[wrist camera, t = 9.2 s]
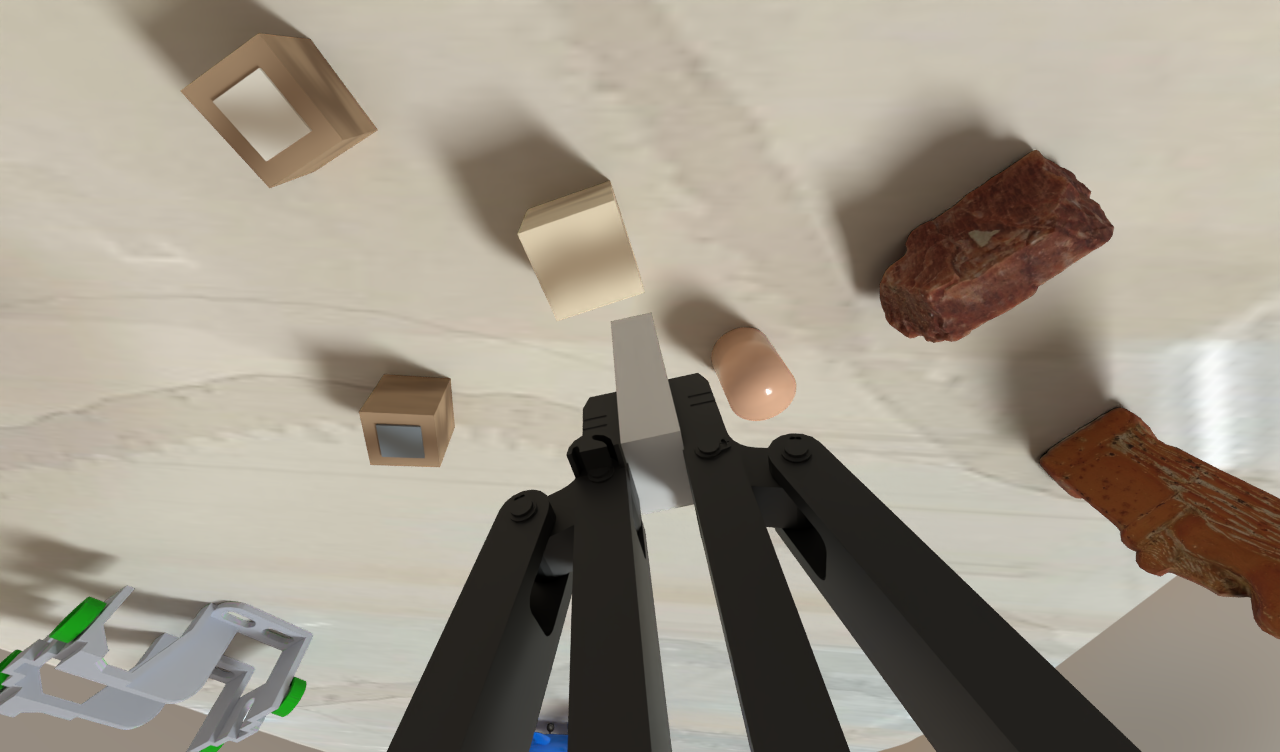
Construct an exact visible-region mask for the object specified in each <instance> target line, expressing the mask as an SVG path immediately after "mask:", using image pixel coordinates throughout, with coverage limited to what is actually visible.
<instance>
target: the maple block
mask: <svg viewBox="0 0 1280 752" xmlns="http://www.w3.org/2000/svg"><path fill="white" fill-rule="evenodd" d="M518 236H519V239H520V241H521V243H522V245H523V247H524V250H525V252H526V254H527V256H528V258H529V260H530V263H531V265H532V267H533V269H534V271H535V274H536V276H537V278H538V280H539V282H540V285H541V287H542V289H543V291H544V293H545V296H546V298H547V300H548V302H549V304H550V307H551V309H552V311H553V313H554V315H555V318H556V320H557V321H560V320H563V319H566V318H569V317H572V316H575V315H578V314H581V313H584V312H587V311H590V310H593V309H596V308H599V307H602V306H605V305H608V304H611V303H614V302H617V301H620V300H623V299H627V298H630V297H633V296H636V295H639V294H642V293H645V292H644V288H643V285H642V281H641V277H640V273H639V270H638V266H637V262H636V259H635V256H634V253H633V250H632V247H631V244H630V241H629V238H628V234H627V231H626V228H625V225H624V222H623V219H622V216H621V213H620V210H619V207H618V204H617V201H616V197H615V194H614V191H613V188H612V185H611V182H610V181H607V182H604V183H601V184H598V185H596V186H593V187H590V188H587V189H584V190H581V191H578V192H576V193H573V194H570V195H567V196H564V197H561V198H559V199H556V200H553V201H550V202H547V203H544V204H541V205H539V206H536V207H533V208H530V209H528V210H527V212H526V215H525V217H524V219H523V222H522V224H521V227H520V229H519V231H518Z"/></svg>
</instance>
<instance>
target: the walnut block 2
mask: <svg viewBox="0 0 1280 752" xmlns="http://www.w3.org/2000/svg"><path fill="white" fill-rule="evenodd" d="M359 414H360V418H361V423H362V428H363V432H364V437H365V442H366V446H367V451H368V455H369V460H370V465H390V466H421V467H440V466H441V463H442V460H443V457H444V455H445V452H446V449H447V447H448V444H449V441H450V439H451V436H452V433H453V430H454V428H455V425H454V413H453V402H452V390H451V379H450V378H436V377H419V376H402V375H386V374H384V375H383V377H382V378H381V380H380V381H379V383H378V384H377V386H376V387H375V389H374V390H373V392H372V393H371V395H370V396H369V398H368V399H367V401H366V402H365V404H364V405H363V407H362V408H361V410H360V411H359Z"/></svg>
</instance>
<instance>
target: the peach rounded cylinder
mask: <svg viewBox="0 0 1280 752" xmlns="http://www.w3.org/2000/svg"><path fill="white" fill-rule="evenodd" d="M711 360H712V365H713V367H714V369H715V372H716V374H717V376H718V379H719V381H720V383H721V386H722V388H723V390H724V392H725V395H726V397H727V399H728V402H729V404H730V406H731V408H732V410H733V411H734V413H735V414H737V415H738V416H739V417H741V418H743V419H746V420H751V421H761V420H766V419H769V418H772V417H774V416H776V415H778V414H780V413H781V412H782V411H784V410H785V409H786V408H787V407H788V406H789V405H790V403H791V402H792V400H793V398H794V396H795V393H796V381H795V379H794V376H793V375H792V373H791V372H790V370H789V369H788V368H787V366H786V365H785V363H784V362H783V360H782V359H781V357H780V356H779V354H778V353H777V351H776V350H775V348H774V347H773V346H772V344H771V343H770V341H769V340H768V338H767V337H766V335H765V334H764V333H762V332H761V331H759V330H757V329H755V328H750V327H741V328H737V329H733V330H731V331H729V332H727V333H726V334H724V335H723V336H722V337H721V338H720V339H719V340H718V341H717V342H716V344H715V346H714V348H713V350H712V355H711Z"/></svg>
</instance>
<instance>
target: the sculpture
mask: <svg viewBox="0 0 1280 752" xmlns="http://www.w3.org/2000/svg"><path fill="white" fill-rule="evenodd" d="M1040 465H1041V466H1042V467H1043V468H1044V470H1045V471H1046V472H1047V473H1048V474H1049V475H1050V476H1051V477H1052V478H1053V479H1054V480H1055V481H1056V482H1057V484H1058V485H1059V486H1061V487H1062V488H1063V489H1064V490H1065V491H1066V492H1067V493H1068V494H1069V495H1071V496H1073V497H1075V498H1080V499H1081V498H1083V499H1084V500H1086V501H1087V502H1088V503H1089V504H1090V505H1091V506H1092V507H1094V508H1095V509H1096V510H1098V511H1099V512H1100V513H1101V514H1102V515H1104V516H1105V517H1106V518H1107V519H1108V520H1110V521H1111V522H1112V523H1113V524H1114V525H1115V526H1116V527H1117V528H1118V529H1119V531H1120V535H1121V541H1122V542H1123V543H1124V544H1125V545H1126V546H1127V547H1128V548H1129V549H1131V550H1133V551H1136V562H1137V564H1138V565H1139V567H1140V568H1141V569H1143V570H1145V571H1146V572H1148V573H1151V574H1154V575H1157V576H1162V575H1164V574H1166V573H1173V574H1176V575H1178V576H1180V577H1183V578H1185V579H1187V580H1190V581H1192V582H1194V583H1196V584H1198V585H1201V586H1203V587H1205V588H1207V589H1209V590H1210V591H1212V592H1214V593H1215V594H1217V595H1218V596H1223V597H1250V598H1251V603H1252V610H1253V615H1254V619H1255V621H1256V623H1257V625H1258V626H1259V627H1260V628H1261V629H1262V630H1263V631H1264V632H1266V633H1268V634H1270V635H1272V636H1274V637H1275V638H1278V639H1280V499H1279V498H1277V497H1275V496H1273V495H1271V494H1269V493H1267V492H1265V491H1263V490H1261V489H1259V488H1257V487H1255V486H1253V485H1251V484H1249V483H1247V482H1245V481H1243V480H1241V479H1239V478H1237V477H1234V476H1232V475H1230V474H1228V473H1226V472H1224V471H1221V470H1219V469H1217V468H1216V467H1214V466H1212V465H1210V464H1208V463H1206V462H1204V461H1202V460H1200V459H1198V458H1196V457H1194V456H1192V455H1190V454H1188V453H1187V452H1185V451H1183V450H1181V449H1179V448H1177V447H1173V446H1170V445H1166V444H1165V443H1163V442H1161V441H1160V440H1158V439H1157V437H1156V436H1155V435H1154V434H1153V432H1152V430H1151V429H1150V427H1149V426H1148V425H1147V424H1146V423H1144V422H1143V420H1142V419H1141V418H1140V417H1138V416H1137V415H1135V414H1134V413H1132V412H1130V411H1128V410H1127V409H1124V408H1121V407H1119V408H1116V409H1113V410H1111V411H1109V412H1108V413H1106V414H1104V415H1102V416H1099V417H1098V418H1097V419H1096V420H1094V421H1093V422H1091V423H1089V424H1088V425H1086V426H1084V427H1082V428H1080V429H1079V430H1077V431H1076V432H1075V433H1074V434H1072V435H1070V436H1068V437H1066V438H1065V439H1064V440H1062V441H1061V442H1060V443H1058V444H1056V445H1055V446H1054V447H1052V448H1051V449H1049V451H1048V452H1047V454H1045V455H1043V456H1042V457H1041V459H1040Z"/></svg>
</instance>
